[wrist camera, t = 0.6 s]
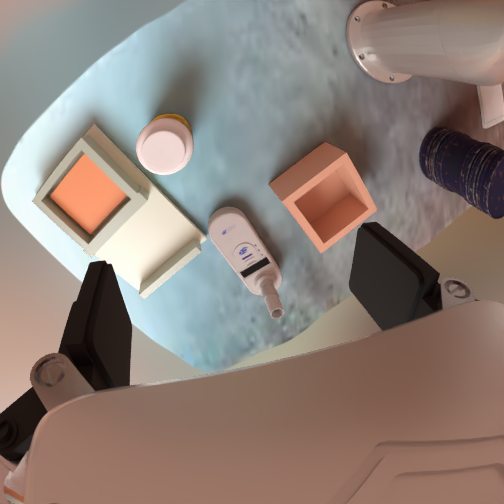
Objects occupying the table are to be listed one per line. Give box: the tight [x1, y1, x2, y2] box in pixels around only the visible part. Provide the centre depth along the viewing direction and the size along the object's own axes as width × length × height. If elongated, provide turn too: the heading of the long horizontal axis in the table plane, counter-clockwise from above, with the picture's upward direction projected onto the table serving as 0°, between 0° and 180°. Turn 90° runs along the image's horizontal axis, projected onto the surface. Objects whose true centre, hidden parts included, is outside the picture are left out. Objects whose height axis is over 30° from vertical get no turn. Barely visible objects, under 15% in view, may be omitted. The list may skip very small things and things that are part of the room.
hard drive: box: [476, 84, 504, 128], centre depth 37 cm, size 2×8×12 cm
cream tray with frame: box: [32, 124, 207, 299], centre depth 35 cm, size 13×21×3 cm, turn 37°
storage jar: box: [419, 127, 504, 219], centre depth 36 cm, size 10×10×15 cm
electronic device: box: [208, 207, 284, 319], centre depth 40 cm, size 5×10×15 cm
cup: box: [268, 142, 377, 253], centre depth 38 cm, size 10×10×6 cm
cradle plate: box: [50, 154, 127, 234], centre depth 33 cm, size 8×8×1 cm
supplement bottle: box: [136, 113, 194, 175], centre depth 29 cm, size 6×6×10 cm
